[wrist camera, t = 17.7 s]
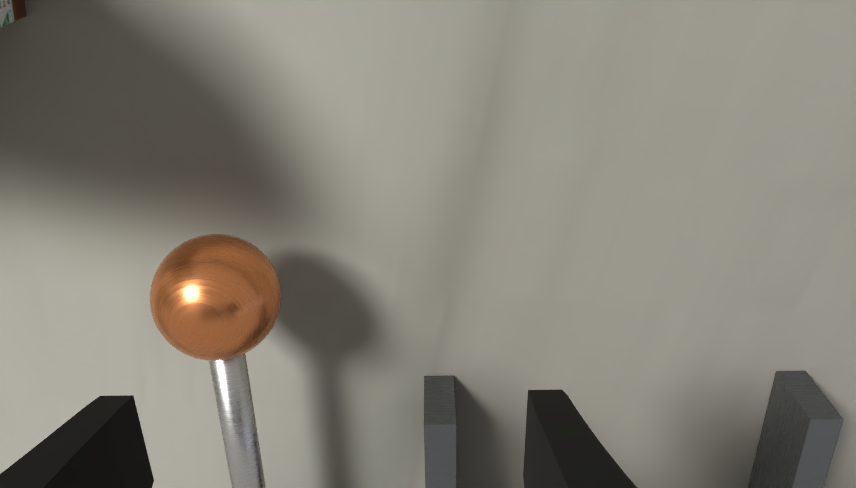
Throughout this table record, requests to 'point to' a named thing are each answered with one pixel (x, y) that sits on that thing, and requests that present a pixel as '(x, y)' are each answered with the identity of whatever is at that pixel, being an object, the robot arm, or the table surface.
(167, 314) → the lever
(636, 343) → the table surface
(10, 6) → the food container
